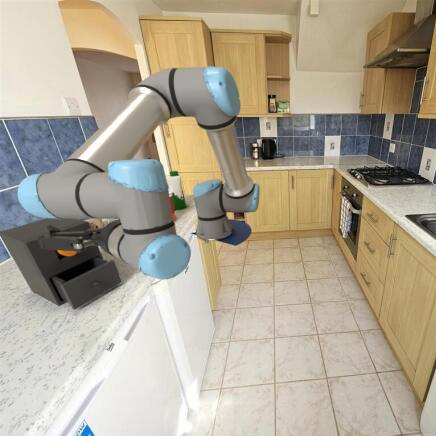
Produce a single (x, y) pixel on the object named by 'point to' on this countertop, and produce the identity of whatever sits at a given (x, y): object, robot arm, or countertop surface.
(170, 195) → the paper cup
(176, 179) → the milk carton
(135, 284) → the countertop surface
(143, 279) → the countertop surface
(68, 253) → the button
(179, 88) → the robot arm
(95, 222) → the teacup with lid
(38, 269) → the panel
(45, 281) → the fryer base
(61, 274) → the pull-out fryer drawer
